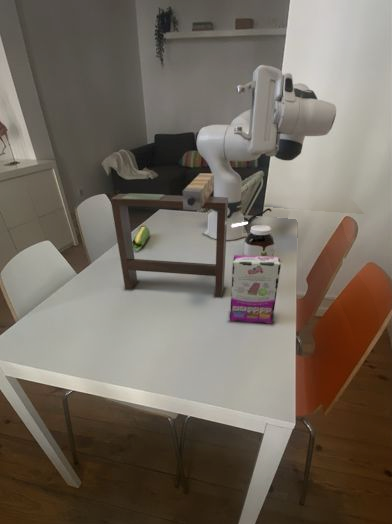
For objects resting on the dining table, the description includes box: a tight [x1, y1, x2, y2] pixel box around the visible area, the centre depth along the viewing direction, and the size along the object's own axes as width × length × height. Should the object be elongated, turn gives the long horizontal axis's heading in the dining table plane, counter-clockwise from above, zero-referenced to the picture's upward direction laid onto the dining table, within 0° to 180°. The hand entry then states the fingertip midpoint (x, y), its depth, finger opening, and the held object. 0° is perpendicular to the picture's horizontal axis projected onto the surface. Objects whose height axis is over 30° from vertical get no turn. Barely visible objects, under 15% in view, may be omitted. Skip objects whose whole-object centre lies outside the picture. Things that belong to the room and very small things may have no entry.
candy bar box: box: [229, 254, 282, 325], centre depth 80 cm, size 11×5×16 cm, turn 82°
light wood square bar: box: [182, 172, 214, 211], centre depth 80 cm, size 23×4×4 cm, turn 170°
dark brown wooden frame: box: [110, 192, 228, 298], centre depth 90 cm, size 6×30×26 cm, turn 79°
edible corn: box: [132, 225, 151, 252], centre depth 129 cm, size 5×20×5 cm, turn 177°
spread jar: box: [243, 224, 276, 256], centre depth 113 cm, size 12×11×12 cm
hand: (236, 110), depth 88 cm, fingers open, 8 cm apart
